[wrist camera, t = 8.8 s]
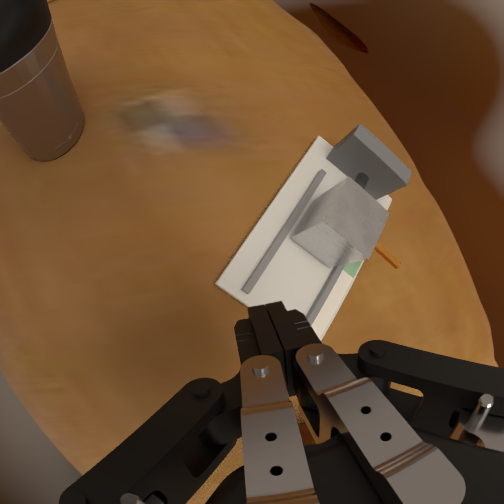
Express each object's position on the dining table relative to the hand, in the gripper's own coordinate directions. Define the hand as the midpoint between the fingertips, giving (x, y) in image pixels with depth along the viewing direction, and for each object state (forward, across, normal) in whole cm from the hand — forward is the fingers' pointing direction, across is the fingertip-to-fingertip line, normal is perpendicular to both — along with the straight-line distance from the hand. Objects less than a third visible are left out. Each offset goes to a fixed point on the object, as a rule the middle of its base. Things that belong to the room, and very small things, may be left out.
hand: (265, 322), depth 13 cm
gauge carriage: (+22, -14, +3) cm, 27 cm away
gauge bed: (+23, -10, +4) cm, 26 cm away
